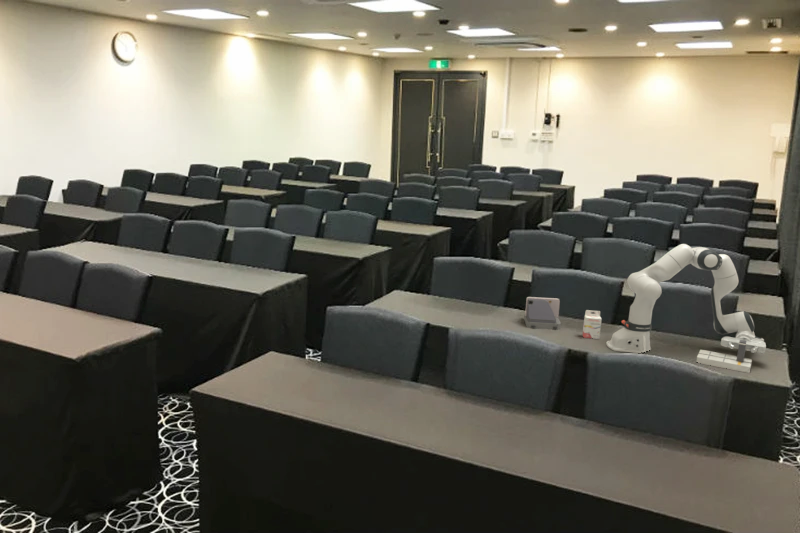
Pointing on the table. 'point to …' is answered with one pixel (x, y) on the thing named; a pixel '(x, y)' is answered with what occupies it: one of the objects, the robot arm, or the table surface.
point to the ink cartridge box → (592, 324)
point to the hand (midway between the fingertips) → (742, 349)
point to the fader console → (723, 361)
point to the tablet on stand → (542, 313)
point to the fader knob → (741, 350)
